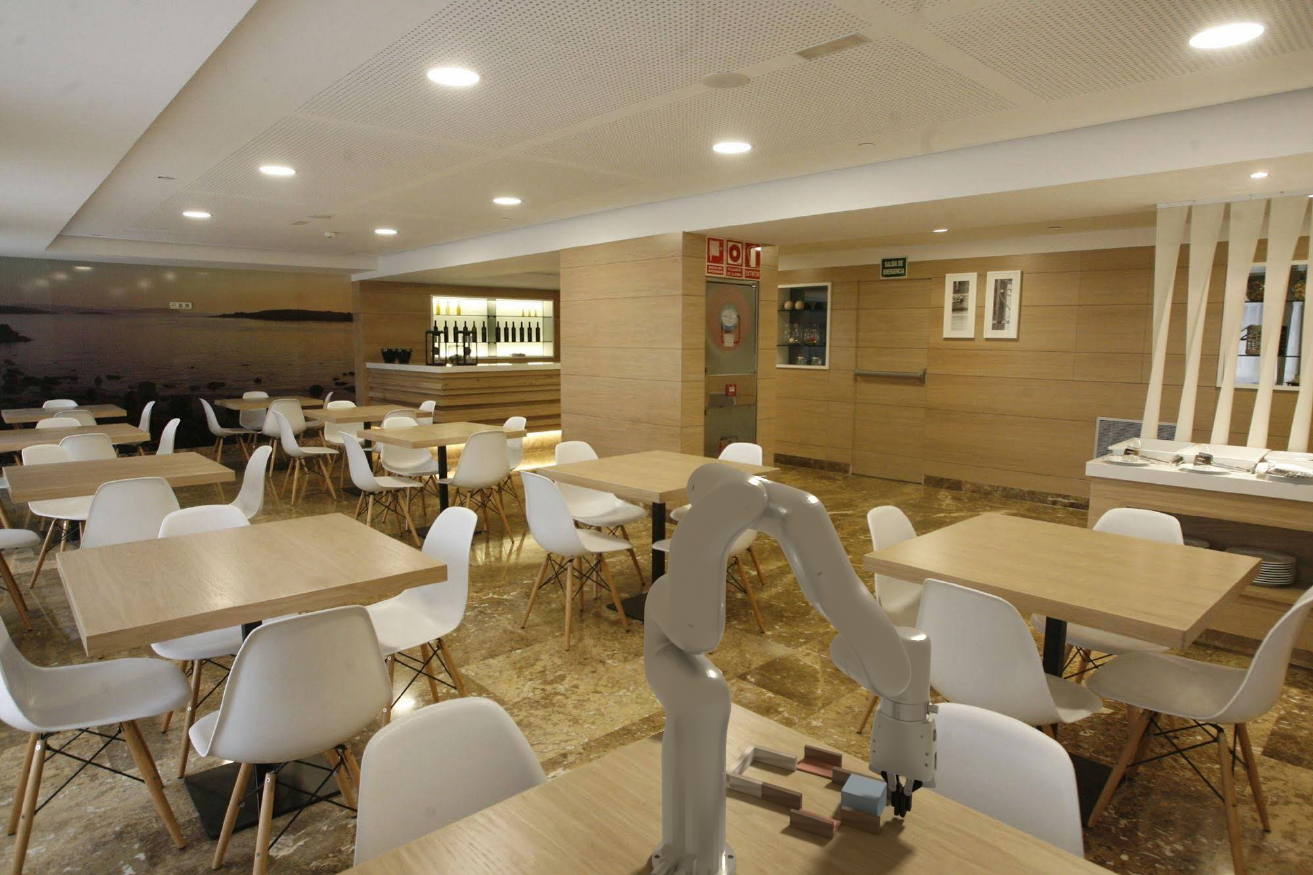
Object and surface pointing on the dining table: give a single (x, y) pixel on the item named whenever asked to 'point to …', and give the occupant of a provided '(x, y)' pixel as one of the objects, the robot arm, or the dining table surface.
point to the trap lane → (813, 763)
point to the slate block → (864, 794)
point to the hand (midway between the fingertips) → (901, 812)
